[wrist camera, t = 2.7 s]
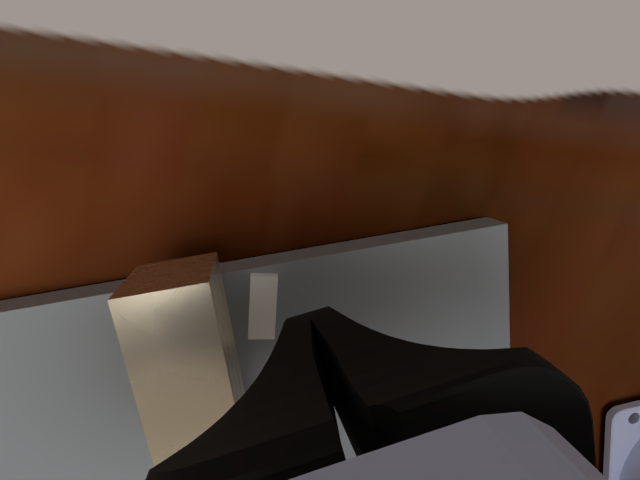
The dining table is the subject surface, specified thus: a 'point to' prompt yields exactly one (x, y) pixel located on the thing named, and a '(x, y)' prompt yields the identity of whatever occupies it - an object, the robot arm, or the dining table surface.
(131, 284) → the door lever handle
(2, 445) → the lock plate
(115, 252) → the dining table surface
